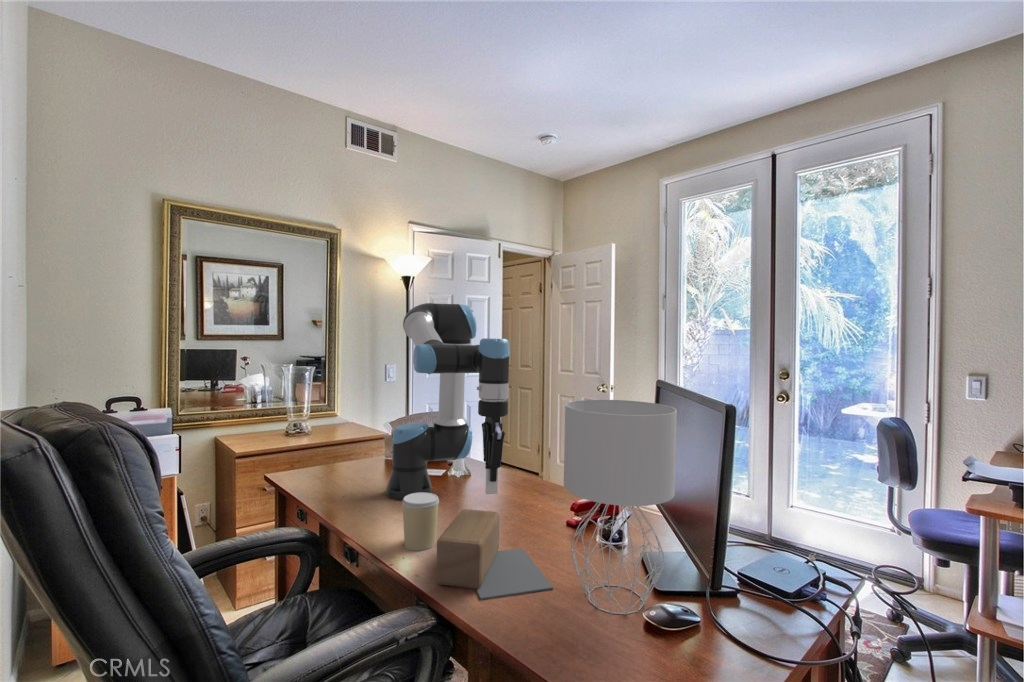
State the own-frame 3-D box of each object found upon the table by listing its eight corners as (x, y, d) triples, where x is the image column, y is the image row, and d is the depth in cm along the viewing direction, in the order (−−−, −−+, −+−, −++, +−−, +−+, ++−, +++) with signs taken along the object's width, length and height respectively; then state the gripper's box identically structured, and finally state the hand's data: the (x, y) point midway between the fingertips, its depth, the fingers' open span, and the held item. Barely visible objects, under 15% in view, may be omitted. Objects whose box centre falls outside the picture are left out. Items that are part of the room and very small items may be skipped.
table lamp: (561, 569, 114) (565, 398, 114) (659, 576, 112) (664, 401, 111) (560, 625, 92) (565, 412, 91) (684, 636, 89) (689, 417, 89)
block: (499, 550, 122) (480, 591, 103) (461, 546, 124) (434, 585, 105) (500, 510, 122) (480, 543, 103) (461, 507, 124) (435, 539, 104)
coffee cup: (444, 539, 129) (445, 494, 129) (427, 554, 120) (428, 505, 120) (413, 534, 132) (414, 490, 132) (394, 548, 123) (395, 500, 123)
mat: (460, 557, 119) (460, 555, 119) (522, 549, 124) (522, 548, 124) (480, 600, 100) (480, 598, 100) (553, 589, 105) (553, 587, 105)
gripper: (472, 396, 128) (471, 486, 128) (485, 403, 116) (483, 502, 116) (500, 396, 131) (498, 484, 131) (515, 402, 118) (513, 500, 118)
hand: (491, 492), depth 123 cm, fingers closed
